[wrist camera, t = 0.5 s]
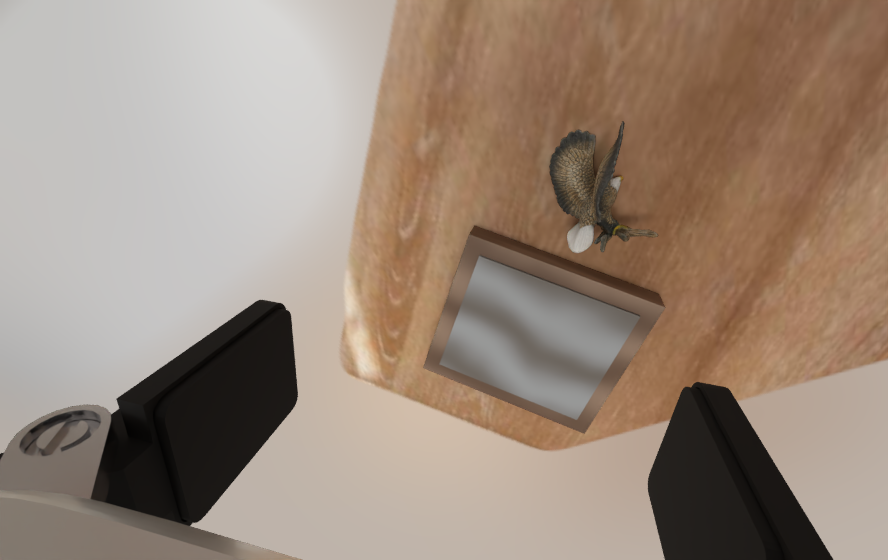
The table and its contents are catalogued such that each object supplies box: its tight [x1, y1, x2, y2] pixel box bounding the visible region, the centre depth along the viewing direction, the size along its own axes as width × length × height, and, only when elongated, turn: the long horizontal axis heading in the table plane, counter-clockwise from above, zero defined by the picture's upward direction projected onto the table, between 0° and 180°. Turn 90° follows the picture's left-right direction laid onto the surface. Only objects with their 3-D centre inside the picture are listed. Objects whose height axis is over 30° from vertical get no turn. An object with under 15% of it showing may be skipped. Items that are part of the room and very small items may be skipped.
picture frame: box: [423, 226, 665, 434], centre depth 42 cm, size 16×18×3 cm
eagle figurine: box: [550, 121, 658, 253], centre depth 34 cm, size 8×7×9 cm
